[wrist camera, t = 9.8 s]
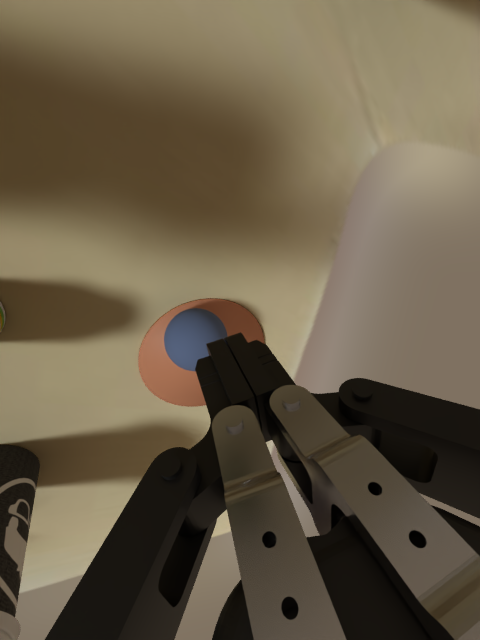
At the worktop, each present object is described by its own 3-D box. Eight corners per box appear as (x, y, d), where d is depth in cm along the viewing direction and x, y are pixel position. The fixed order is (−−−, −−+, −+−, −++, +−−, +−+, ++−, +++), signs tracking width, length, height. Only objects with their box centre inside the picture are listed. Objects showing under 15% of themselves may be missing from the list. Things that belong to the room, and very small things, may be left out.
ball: (157, 318, 22) (161, 308, 28) (168, 386, 23) (169, 364, 29) (228, 308, 23) (219, 301, 29) (236, 374, 24) (225, 355, 30)
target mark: (161, 420, 33) (161, 422, 32) (117, 323, 26) (117, 324, 26) (269, 381, 35) (270, 382, 35) (255, 282, 28) (255, 282, 28)
